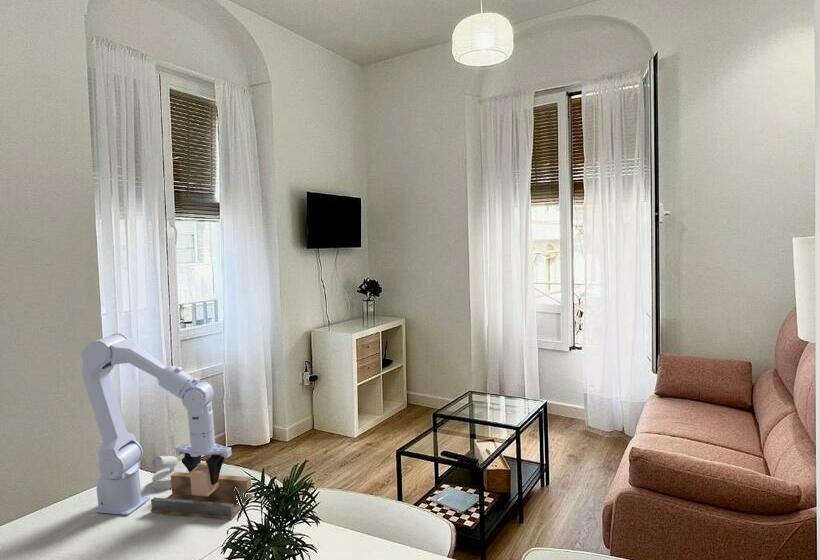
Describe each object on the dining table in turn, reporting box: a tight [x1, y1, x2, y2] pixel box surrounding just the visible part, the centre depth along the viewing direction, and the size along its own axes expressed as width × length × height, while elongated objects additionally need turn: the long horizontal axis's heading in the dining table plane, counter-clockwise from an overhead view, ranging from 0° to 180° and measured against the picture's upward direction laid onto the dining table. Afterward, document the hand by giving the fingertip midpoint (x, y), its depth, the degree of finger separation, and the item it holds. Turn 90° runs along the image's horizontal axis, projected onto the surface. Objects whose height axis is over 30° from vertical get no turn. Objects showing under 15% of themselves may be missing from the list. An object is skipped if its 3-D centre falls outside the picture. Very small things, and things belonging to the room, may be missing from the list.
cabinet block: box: [190, 462, 220, 496], centre depth 130 cm, size 4×5×7 cm
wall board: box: [150, 472, 253, 521], centre depth 130 cm, size 22×10×6 cm, turn 78°
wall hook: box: [151, 455, 187, 491], centre depth 143 cm, size 9×10×10 cm
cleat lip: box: [150, 496, 234, 516], centre depth 126 cm, size 22×1×2 cm, turn 78°
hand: (206, 482), depth 130 cm, fingers closed on cabinet block, 4 cm apart
